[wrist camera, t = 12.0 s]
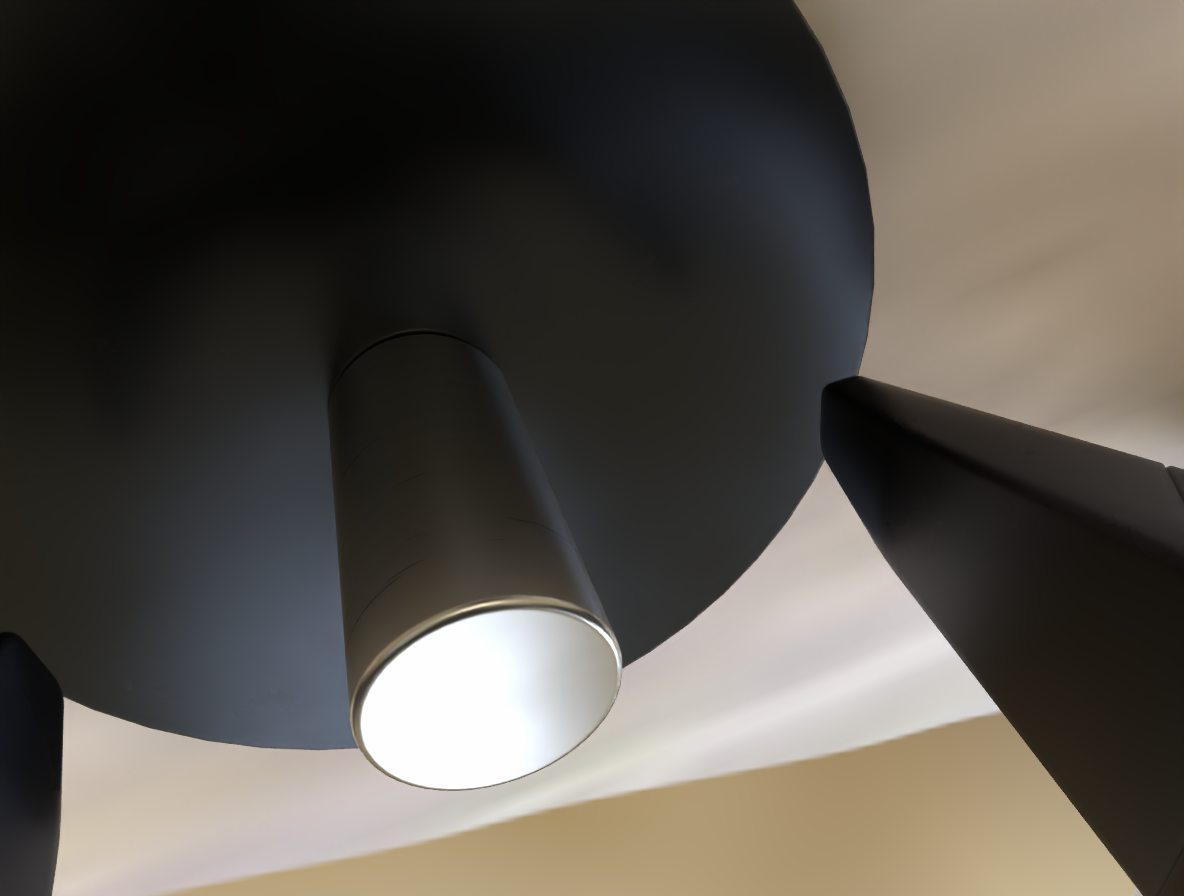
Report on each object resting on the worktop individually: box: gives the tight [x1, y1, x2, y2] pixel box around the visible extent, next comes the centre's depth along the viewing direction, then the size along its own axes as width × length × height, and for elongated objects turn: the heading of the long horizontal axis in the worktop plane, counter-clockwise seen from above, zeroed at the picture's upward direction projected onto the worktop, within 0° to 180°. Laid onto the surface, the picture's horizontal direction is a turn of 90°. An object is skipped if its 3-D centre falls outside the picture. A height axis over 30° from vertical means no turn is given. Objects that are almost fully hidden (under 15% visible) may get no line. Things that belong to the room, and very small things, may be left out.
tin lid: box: [0, 0, 874, 791], centre depth 10 cm, size 14×14×6 cm
